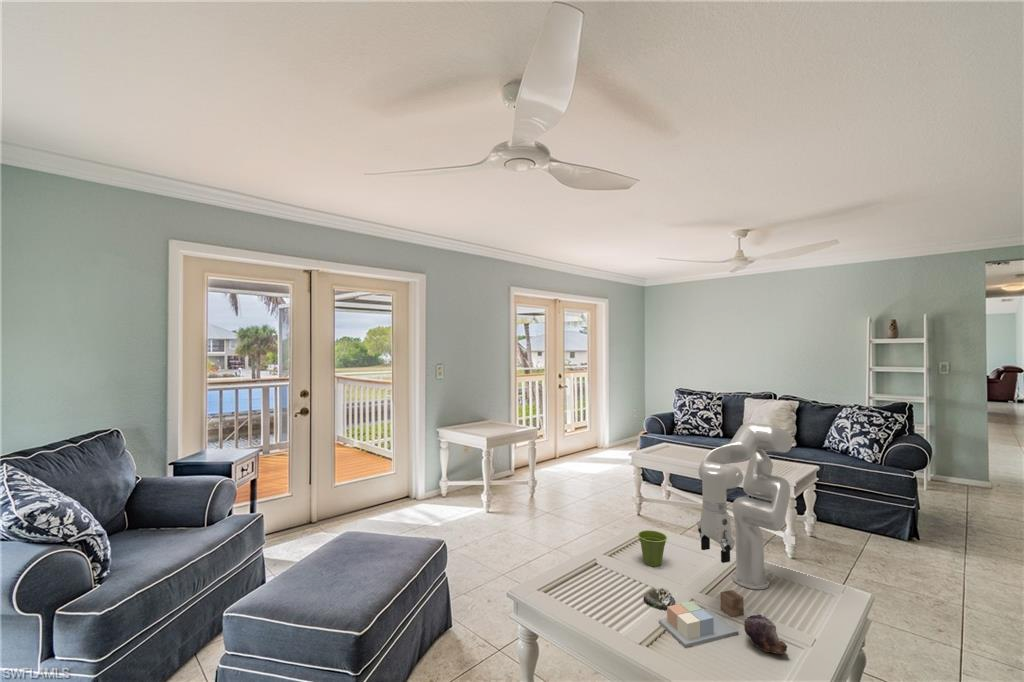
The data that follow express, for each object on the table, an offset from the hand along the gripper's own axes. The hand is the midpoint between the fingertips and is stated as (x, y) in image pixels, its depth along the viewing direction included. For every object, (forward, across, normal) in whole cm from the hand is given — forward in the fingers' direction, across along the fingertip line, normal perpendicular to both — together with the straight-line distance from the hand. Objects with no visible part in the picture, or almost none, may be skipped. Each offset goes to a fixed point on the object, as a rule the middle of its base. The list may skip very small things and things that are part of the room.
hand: (715, 555), depth 156 cm
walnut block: (+19, -2, -4) cm, 19 cm away
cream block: (+18, -9, +18) cm, 27 cm away
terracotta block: (+18, -4, +18) cm, 26 cm away
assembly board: (+19, -7, +13) cm, 23 cm away
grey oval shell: (+19, +11, +15) cm, 27 cm away
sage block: (+18, -4, +13) cm, 22 cm away
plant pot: (+19, +36, +1) cm, 41 cm away
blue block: (+18, -9, +13) cm, 24 cm away
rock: (+19, -20, 0) cm, 27 cm away
